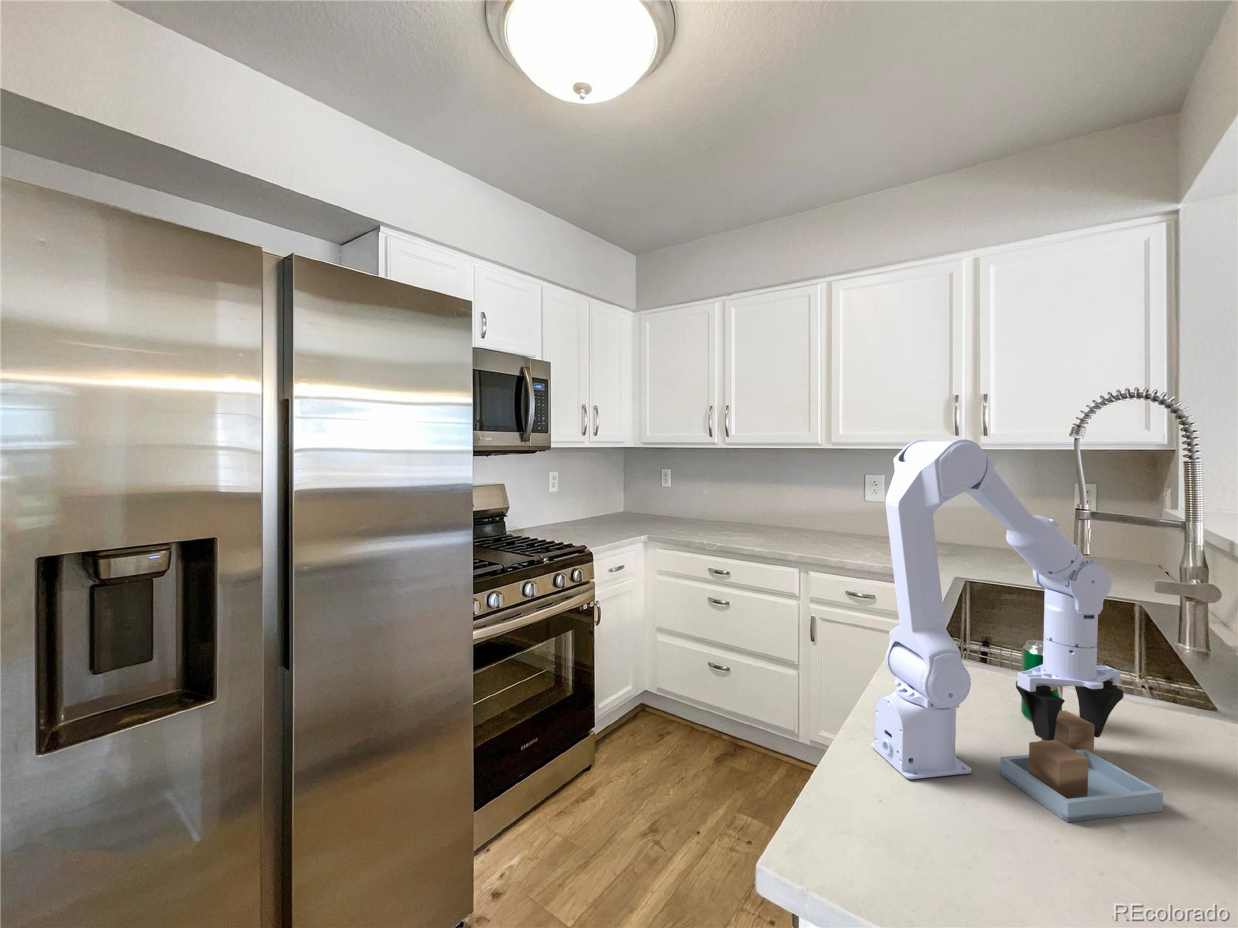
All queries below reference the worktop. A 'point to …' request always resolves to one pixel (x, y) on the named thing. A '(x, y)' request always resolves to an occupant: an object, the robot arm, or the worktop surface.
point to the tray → (1106, 790)
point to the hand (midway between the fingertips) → (1067, 735)
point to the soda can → (1031, 660)
